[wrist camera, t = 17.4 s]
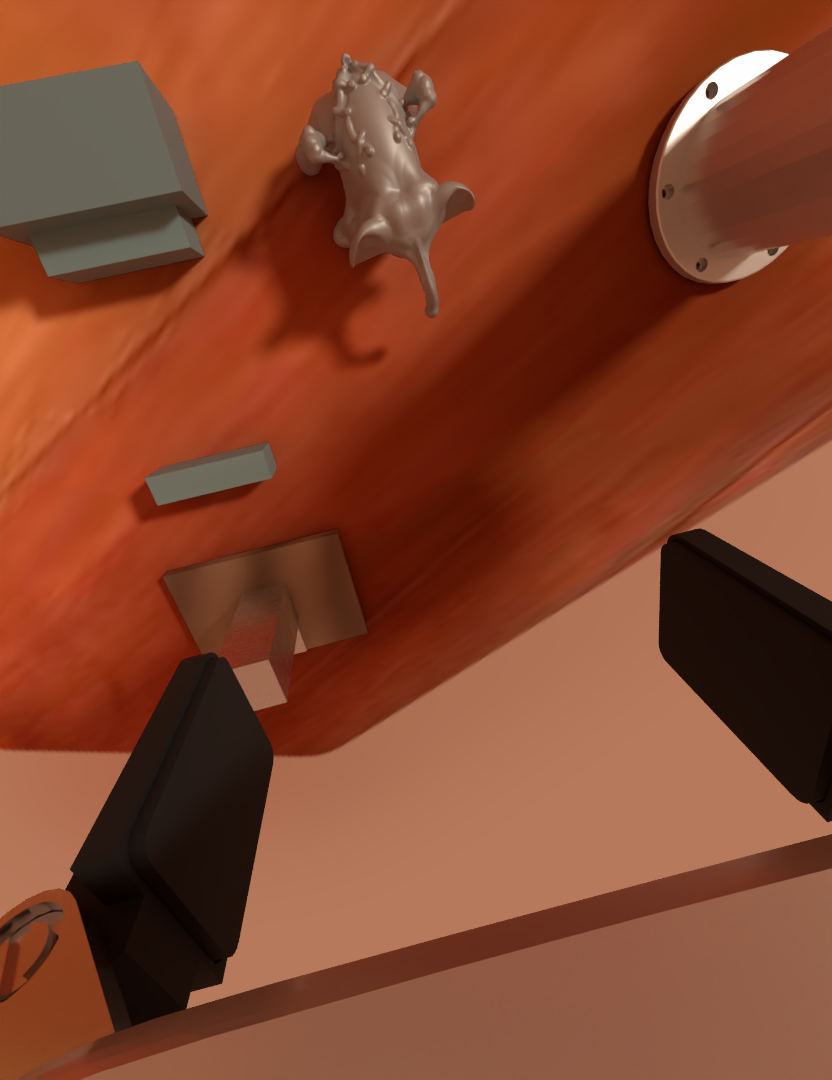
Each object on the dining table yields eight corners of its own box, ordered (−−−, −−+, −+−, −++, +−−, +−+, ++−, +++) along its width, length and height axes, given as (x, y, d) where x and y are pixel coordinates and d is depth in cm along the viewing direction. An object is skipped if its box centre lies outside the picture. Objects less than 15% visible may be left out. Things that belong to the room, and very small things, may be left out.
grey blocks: (173, 111, 26) (137, 60, 21) (290, 464, 34) (282, 482, 30) (-7, 145, 25) (-83, 101, 21) (159, 495, 34) (131, 519, 29)
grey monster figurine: (379, 64, 27) (385, -45, 19) (504, 242, 31) (547, 206, 23) (273, 190, 28) (243, 132, 21) (405, 344, 32) (417, 339, 25)
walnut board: (337, 528, 37) (337, 533, 36) (367, 626, 41) (367, 633, 40) (166, 571, 36) (162, 577, 35) (214, 666, 40) (211, 674, 39)
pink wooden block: (285, 582, 37) (268, 659, 28) (308, 640, 40) (298, 728, 31) (242, 593, 37) (210, 674, 28) (267, 651, 39) (245, 742, 30)
